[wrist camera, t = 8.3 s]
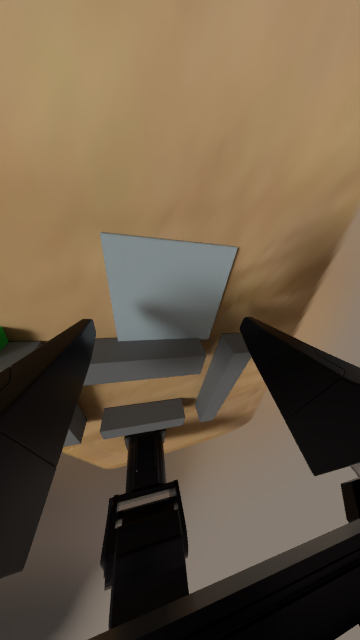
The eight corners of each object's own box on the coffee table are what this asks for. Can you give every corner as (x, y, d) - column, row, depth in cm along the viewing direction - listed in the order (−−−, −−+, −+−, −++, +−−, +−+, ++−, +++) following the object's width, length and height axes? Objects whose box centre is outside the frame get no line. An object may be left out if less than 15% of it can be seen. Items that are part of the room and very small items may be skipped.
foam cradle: (207, 402, 24) (212, 419, 22) (69, 422, 19) (61, 447, 17) (239, 333, 15) (254, 352, 13) (8, 342, 11) (-22, 372, 9)
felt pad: (206, 336, 15) (208, 339, 14) (118, 340, 13) (118, 343, 12) (234, 246, 10) (237, 247, 10) (101, 232, 8) (100, 233, 8)
